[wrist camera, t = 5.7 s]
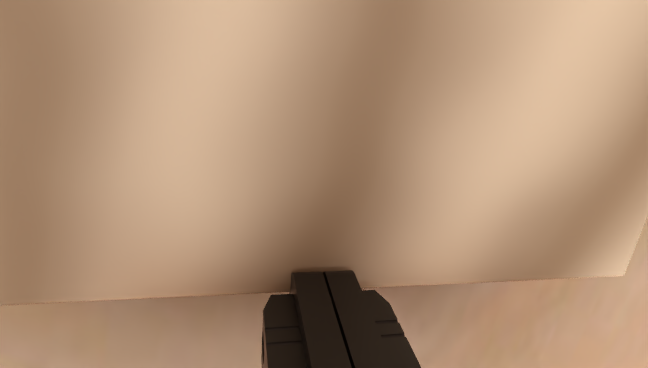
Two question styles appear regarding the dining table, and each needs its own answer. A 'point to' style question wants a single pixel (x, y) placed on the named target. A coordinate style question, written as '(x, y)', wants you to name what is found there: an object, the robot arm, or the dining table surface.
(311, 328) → the robot arm
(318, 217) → the plank
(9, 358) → the dining table surface
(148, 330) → the dining table surface
